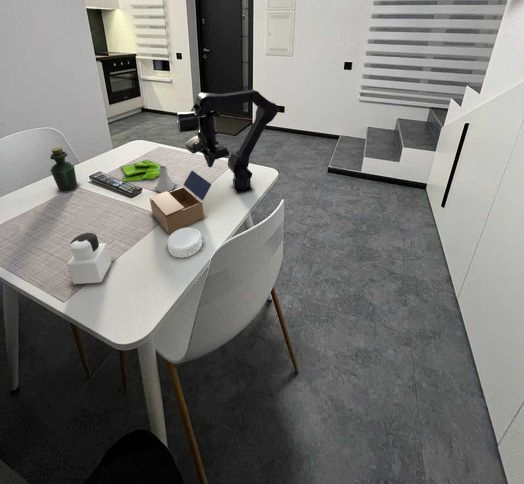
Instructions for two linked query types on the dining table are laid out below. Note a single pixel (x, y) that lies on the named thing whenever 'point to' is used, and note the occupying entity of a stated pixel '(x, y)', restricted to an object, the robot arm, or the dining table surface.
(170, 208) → the carton
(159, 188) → the flask
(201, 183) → the flap
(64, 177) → the potion bottle
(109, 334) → the dining table surface
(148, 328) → the dining table surface
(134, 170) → the cloth
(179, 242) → the white round disc
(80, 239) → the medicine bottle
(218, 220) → the dining table surface
